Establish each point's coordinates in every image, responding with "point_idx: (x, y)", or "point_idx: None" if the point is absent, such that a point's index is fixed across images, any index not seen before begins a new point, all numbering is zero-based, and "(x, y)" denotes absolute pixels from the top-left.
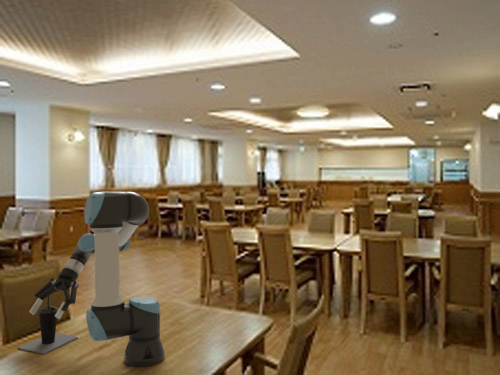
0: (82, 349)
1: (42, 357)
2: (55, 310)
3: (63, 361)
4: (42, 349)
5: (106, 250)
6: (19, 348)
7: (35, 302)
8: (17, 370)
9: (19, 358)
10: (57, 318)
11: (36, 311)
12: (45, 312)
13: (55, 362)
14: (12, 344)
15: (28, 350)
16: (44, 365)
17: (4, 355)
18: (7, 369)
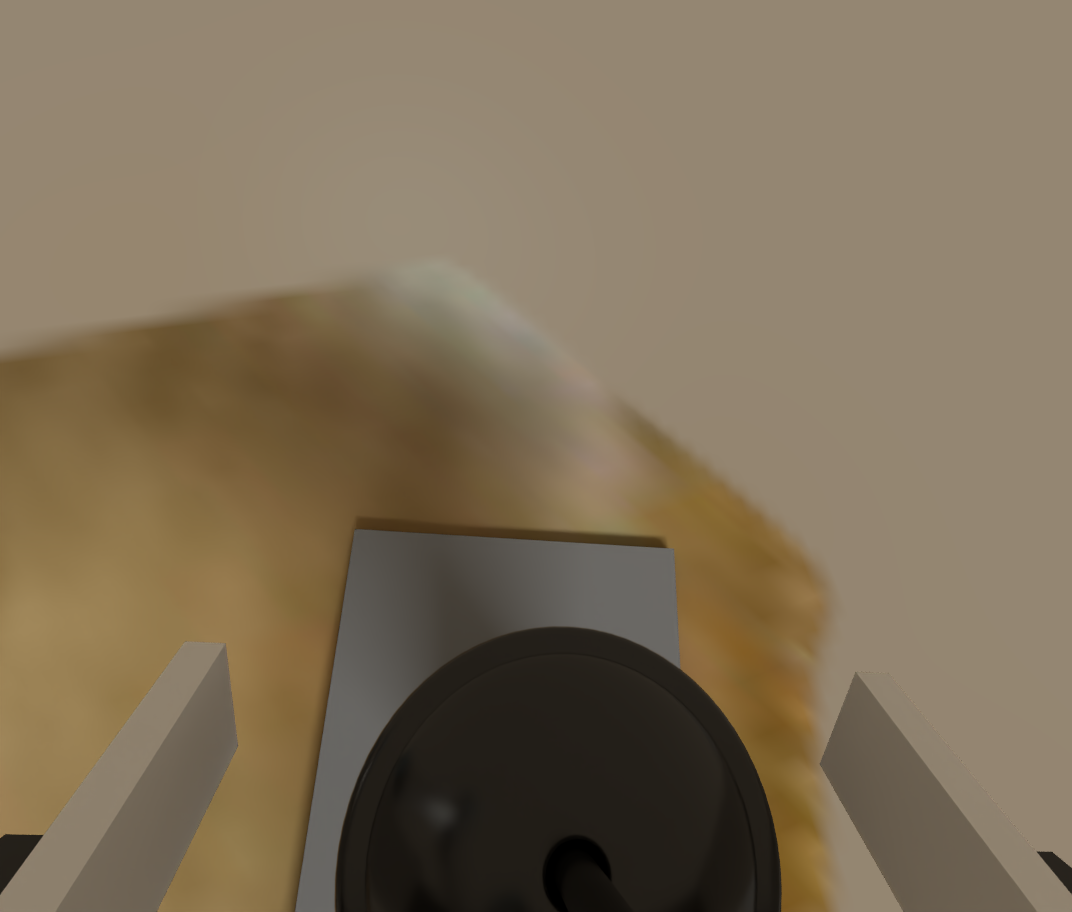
0: (32, 773)
1: (335, 484)
2: (346, 870)
3: (97, 475)
4: (430, 588)
5: None
6: (651, 548)
7: (1052, 887)
8: (364, 274)
9: (503, 417)
10: (231, 722)
11: (859, 831)
12: (474, 652)
13: (159, 440)
14: (800, 617)
15: (545, 541)
16: (220, 376)
17: (655, 425)
18: (442, 270)
